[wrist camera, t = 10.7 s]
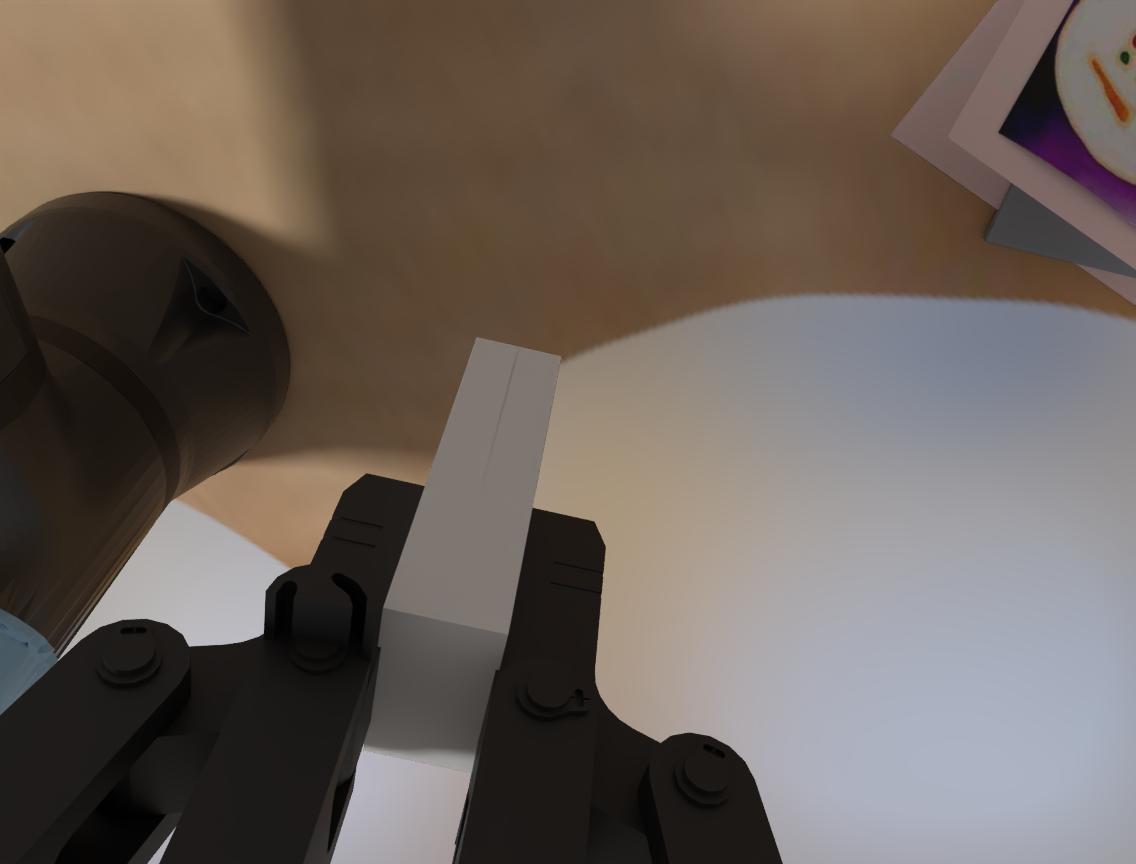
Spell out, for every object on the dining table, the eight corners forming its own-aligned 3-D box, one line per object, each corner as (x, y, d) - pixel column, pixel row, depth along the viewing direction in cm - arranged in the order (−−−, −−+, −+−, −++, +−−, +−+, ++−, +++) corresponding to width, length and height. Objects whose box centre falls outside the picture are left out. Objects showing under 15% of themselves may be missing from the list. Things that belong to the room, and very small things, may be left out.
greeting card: (1130, -164, 32) (1445, 88, 35) (997, -66, 40) (1266, 137, 42) (961, 130, 32) (1292, 364, 35) (859, 175, 39) (1138, 365, 42)
